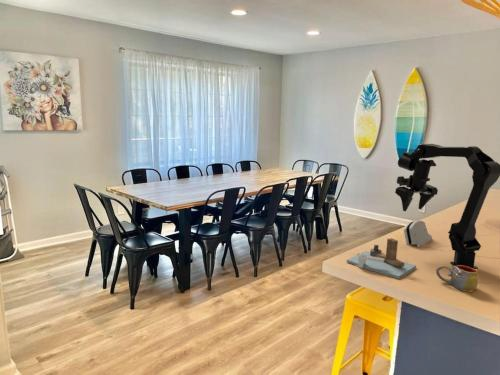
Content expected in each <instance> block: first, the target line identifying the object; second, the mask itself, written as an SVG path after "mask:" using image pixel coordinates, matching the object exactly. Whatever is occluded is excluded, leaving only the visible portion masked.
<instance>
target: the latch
mask: <svg viewBox="0 0 500 375" xmlns="http://www.w3.org/2000/svg"><path fill="white" fill-rule="evenodd" d="M398 243H399V242H398V240H397V239H394V238H387V240H386V248H385V249H386V250H385V251H386V252H385V253H383V252H382V250H381V249H379V244H373V248H370V251H369V252H370V255H371V256H373V257H379V258H385V260H384V261H386V262H388V263H390V264H392V265H394V266H397V267H404V262H405V261H402V260H400V259H397V253H398Z"/></svg>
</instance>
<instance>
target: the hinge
mask: <svg viewBox="0 0 500 375" xmlns="http://www.w3.org/2000/svg"><path fill="white" fill-rule="evenodd" d="M403 232H404V239H405V244H406V246H410V245H413V246H414V245H416V247H417V248H420V247H422V246H424V245H425V244H427V243H429V242H430V241H432V240H433V237H432V235H431V234H430V233H429V232H428V228H427V225H426V223H425V221H422V220H415V221H410V222H408V223H407V224H406V225H405V226H404V228H403Z"/></svg>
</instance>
